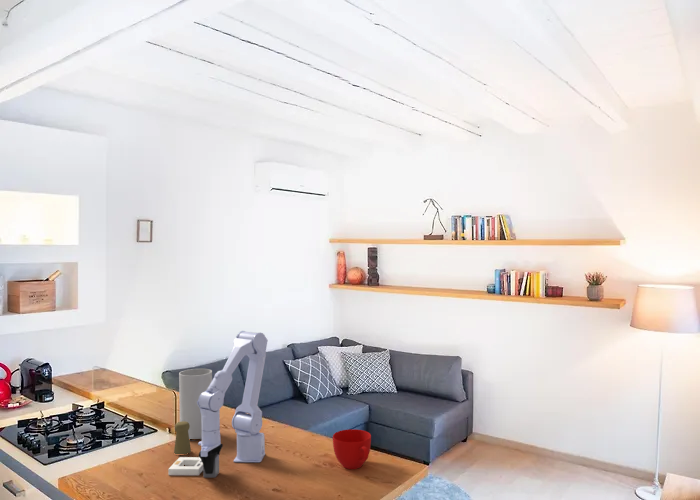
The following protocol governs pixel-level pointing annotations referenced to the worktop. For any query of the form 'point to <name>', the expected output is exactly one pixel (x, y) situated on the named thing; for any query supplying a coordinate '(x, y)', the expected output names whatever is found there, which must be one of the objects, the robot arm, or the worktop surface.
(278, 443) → the worktop surface
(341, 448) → the ceramic cup
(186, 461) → the socket plate
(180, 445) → the olive tapered pepper mill
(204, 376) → the cylinder vase
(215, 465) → the plug
